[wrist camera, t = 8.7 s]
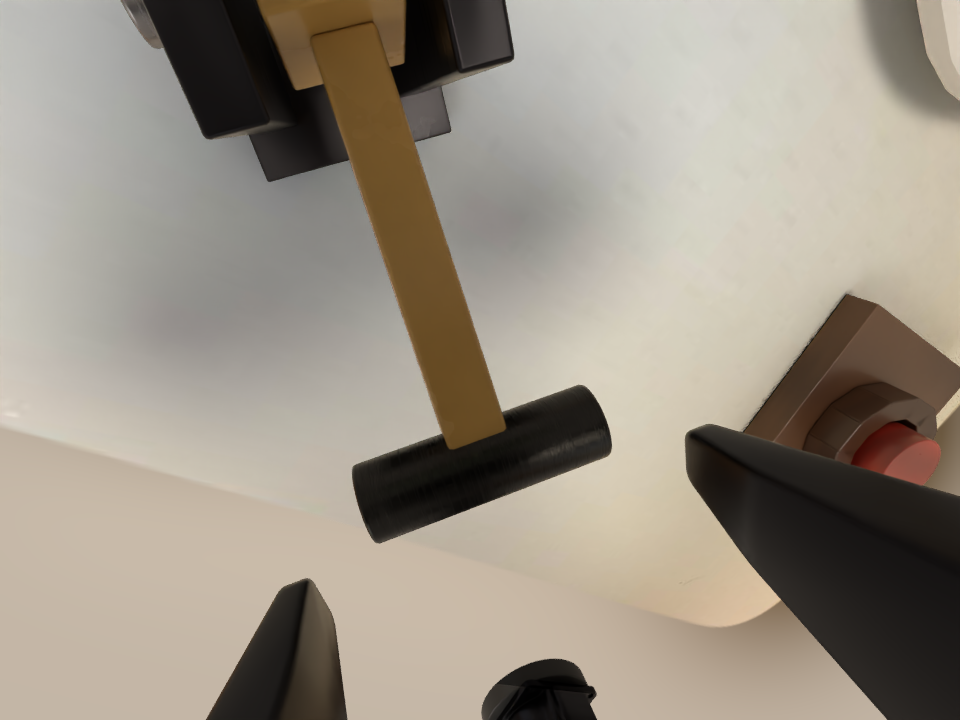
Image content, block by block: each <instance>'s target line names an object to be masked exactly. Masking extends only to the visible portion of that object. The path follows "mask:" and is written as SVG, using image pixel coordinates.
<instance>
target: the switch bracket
mask: <svg viewBox="0 0 960 720" xmlns="http://www.w3.org/2000/svg"><path fill="white" fill-rule="evenodd" d="M121 2H122V4H123V6H124V8H125V10H126V11H127V13H128V15H129V17H130V18H131V20H132V22H133V23H134V25H135V26H136V28H137V29H138V31H139V32H140V34H141V35H142V36H143V38H144V39H145V40H146V41H147V42H148V43H149V44H150V45H151V46H152V47H153V48H156V49H161V48H164V50H165V52H166V54H167V57H168V59H169V61H170V63H171V66H172V68H173V70H174V72H175V74H176V77H177V79H178V81H179V83H180V85H181V88H182V90H183V92H184V94H185V97H186V99H187V101H188V103H189V105H190V108H191V110H192V112H193V114H194V116H195V119H196V121H197V123H198V125H199V128H200V130H201V132H202V134H203V136H204V137H205V138H206V139H210V140H212V139H220V138H228V137H236V136H245V135H249V137H250V140H251V142H252V145H253V147H254V149H255V152H256V154H257V157H258V159H259V162H260V164H261V166H262V169H263V171H264V174H265V176H266V179H267V181H268V182H271V181H275V180H278V179H282V178H286V177H289V176H293V175H297V174H300V173H304V172H307V171H311V170H315V169H318V168H322V167H326V166H329V165H333V164H337V163H340V162H344V161H348V160H349V158H348V155H347V152H346V149H345V146H344V143H343V140H342V137H341V134H340V131H339V128H338V126H337V123H336V120H335V117H334V114H333V111H332V108H331V105H330V102H329V99H328V96H327V93H326V90H325V87H324V84H321V85H317V86H313V87H309V88H305V89H301V90H295V89H294V88H293V87H292V85H291V82H290V80H289V78H288V75H287V73H286V71H285V68H284V66H283V64H282V61H281V59H280V57H279V54H278V52H277V50H276V47H275V45H274V43H273V40H272V38H271V36H270V33H269V31H268V29H267V26H266V24H265V22H264V19H263V17H262V15H261V13H260V10H259V7H258V4H257V1H256V0H121ZM513 59H514V49H513V43H512V37H511V31H510V25H509V19H508V13H507V8H506V2H505V0H406V35H405V62H404V63H403V64H400V65H396V66H392V67H390V68H391V72H392V75H393V78H394V81H395V84H396V87H397V90H398V93H399V96H400V99H401V102H402V105H403V109H404V112H405V115H406V118H407V121H408V124H409V127H410V130H411V133H412V136H413V139H414V142H417V141H421V140H424V139H428V138H431V137H435V136H439V135H442V134H446V133H450V132H451V126H450V122H449V118H448V114H447V109H446V105H445V101H444V97H443V92H442V88H441V86H443V85H446V84H449V83H452V82H454V81H457V80H460V79H463V78H466V77H469V76H472V75H475V74H477V73H480V72H483V71H486V70H489V69H492V68H495V67H498V66H500V65H503V64H506V63H509V62H511V61H512V60H513Z"/></svg>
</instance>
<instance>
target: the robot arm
mask: <svg viewBox="0 0 960 720" xmlns="http://www.w3.org/2000/svg"><path fill="white" fill-rule="evenodd" d="M685 453H686V470H687V474H688V477H689V480H690V481H691V483H692V485H693V486H694V488H695V489H696V490H697V492H698V493H699V495H700V496H701V497H702V499H703V500H704V502H705V503H706V504H707V506H708V507H709V508H710V510H711V511H712V513H713V514H714V515H715V517H716V518H717V520H718V521H719V522H720V524H721V525H722V526H723V528H724V529H725V531H726V532H727V533H728V535H729V536H730V538H731V539H732V540H733V542H734V543H735V545H736V546H737V547H738V549H739V550H740V551H741V553H742V554H743V555H744V557H745V558H746V559H747V561H748V562H749V563H750V564H751V566H752V567H753V568H754V569H755V570H756V571H757V573H758V574H759V575H760V576H761V577H762V578H763V580H764V581H765V582H766V583H767V584H768V585H769V586H770V587H771V589H772V590H773V591H774V592H775V593H776V594H777V595H778V597H779V598H780V599H781V600H782V601H783V602H784V603H785V604H786V606H787V607H788V608H789V609H790V610H791V611H792V612H793V613H794V615H795V616H796V617H797V618H798V619H799V620H800V621H801V623H802V624H803V625H804V626H805V627H806V628H807V629H808V630H809V632H810V633H811V634H812V635H813V636H814V637H815V638H816V639H817V641H818V642H819V643H820V644H821V645H822V646H823V647H824V649H825V650H826V651H827V652H828V653H829V654H830V655H831V656H832V658H833V659H834V660H835V661H836V662H837V663H838V664H839V666H840V667H841V668H842V669H843V670H844V671H845V672H846V673H847V675H848V676H849V677H850V678H851V679H852V680H853V681H854V682H855V684H856V685H857V686H858V687H859V688H860V689H861V690H862V692H863V693H864V694H865V695H866V696H867V697H868V698H869V699H870V700H871V702H872V703H873V704H874V705H875V706H876V707H877V708H878V710H879V711H880V712H881V713H882V714H883V715H884V716H885V717H886V719H887V720H960V496H957V495H954V494H950V493H946V492H943V491H940V490H937V489H933V488H930V487H926V486H923V485H919V484H916V483H913V482H909V481H906V480H902V479H899V478H895V477H892V476H889V475H885V474H882V473H878V472H875V471H872V470H868V469H865V468H861V467H858V466H854V465H851V464H848V463H844V462H841V461H837V460H834V459H830V458H827V457H824V456H820V455H817V454H813V453H810V452H806V451H803V450H800V449H796V448H793V447H789V446H786V445H783V444H779V443H776V442H772V441H769V440H765V439H762V438H759V437H755V436H752V435H748V434H745V433H741V432H738V431H735V430H731V429H728V428H724V427H721V426H718V425H714V424H706V425H703V426H701V427H698V428H695V429H693V430H690V431H689V432H687V434H686V436H685ZM596 694H597V693H596V691H595V689H594V687H593V686H587V685H578V684H569V683H560V682H551V681H542V680H533V679H530V680H526V681H525V682H524V683H523V684H522V685H521V686H520V688H519V689H518V690H517V692H516V693H515V695H514V696H513V697H512V699H511V700H510V701H509V703H508V704H507V706H506V707H505V708H504V710H503V711H502V713H501V714H500V715H499V717H498V718H497V719H496V720H597V719H596V716H595V714H594V712H593V710H592V708H591V706H590V703H591V702H592V700H593V699H594V698H595V697H596ZM206 720H347V713H346V705H345V698H344V690H343V682H342V674H341V666H340V659H339V651H338V643H337V636H336V629H335V623H334V619H333V616H332V613H331V611H330V609H329V608H328V606H327V604H326V602H325V601H324V599H323V597H322V596H321V594H320V592H319V591H318V589H317V587H316V585H315V584H314V582H313V581H312V580H311V579H308V578H306V579H302V580H300V581H297V582H295V583H292V584H289V585H287V586H284V587H283V588H282V589H281V590H280V591H279V592H278V594H277V595H276V597H275V599H274V601H273V602H272V604H271V606H270V608H269V609H268V611H267V613H266V615H265V616H264V618H263V620H262V622H261V624H260V625H259V627H258V629H257V631H256V632H255V634H254V636H253V638H252V639H251V641H250V643H249V645H248V646H247V648H246V650H245V652H244V654H243V655H242V657H241V659H240V661H239V662H238V664H237V666H236V668H235V670H234V671H233V673H232V675H231V677H230V678H229V680H228V682H227V683H226V685H225V687H224V689H223V690H222V692H221V694H220V696H219V698H218V699H217V701H216V703H215V705H214V707H213V708H212V710H211V712H210V714H209V715H208V717H207V719H206Z"/></svg>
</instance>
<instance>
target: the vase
mask: <svg viewBox="0 0 960 720" xmlns="http://www.w3.org/2000/svg"><path fill="white" fill-rule="evenodd" d="M917 8H918V13H919V18H920V23H921V28H922V33H923V38H924V43H925V48H926V53H927V56H928V58H929V60H930V62H931V64H932V65H933V67H934V69H935V71H936V73H937V75H938V76H939V78H940V80H941V82H942V84H943V86H944V87H945V89H946V91H947V92H949V93H950V94H951V95H953V96H954V97H955V98H957V99H958V100H959V101H960V0H917Z"/></svg>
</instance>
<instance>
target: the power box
mask: <svg viewBox="0 0 960 720" xmlns="http://www.w3.org/2000/svg"><path fill="white" fill-rule="evenodd" d="M959 388H960V367H959V366H958V365H956V364H955V363H954V362H952V361H951V360H950V359H949V358H947V357H946V356H945V355H943V354H942V353H941V352H940V351H938V350H937V349H936V348H934V347H933V346H932V345H930V344H929V343H928V342H927V341H925V340H924V339H923V338H921V337H920V336H919V335H917V334H916V333H915V332H914V331H912V330H911V329H910V328H908V327H907V326H906V325H905V324H903V323H902V322H901V321H899V320H898V319H897V318H895V317H894V316H893V315H892V314H890V313H889V312H888V311H886V310H885V309H884V308H883V307H881V306H880V305H879V304H876V303H873V302H870V301H867V300H864V299H861V298H857V297H854V296H851V295H846V296H845V298H844V299H843V300H842V302H841V303H840V304H839V306H838V307H837V308H836V310H835V311H834V312H833V314H832V315H831V316H830V318H829V319H828V320H827V322H826V323H825V324H824V326H823V327H822V328H821V330H820V331H819V332H818V334H817V335H816V336H815V338H814V339H813V340H812V342H811V343H810V344H809V346H808V347H807V348H806V350H805V351H804V352H803V354H802V355H801V356H800V358H799V359H798V360H797V362H796V363H795V364H794V366H793V367H792V369H791V370H790V371H789V373H788V374H787V375H786V377H785V378H784V379H783V381H782V382H781V383H780V385H779V386H778V387H777V389H776V390H775V391H774V393H773V394H772V395H771V397H770V398H769V399H768V401H767V402H766V403H765V405H764V406H763V407H762V409H761V410H760V411H759V413H758V414H757V415H756V417H755V418H754V419H753V421H752V422H751V423H750V425H749V426H748V427H747V429H746V430H745V431H744V433H745V434H748V435H752V436H755V437H759V438H762V439H765V440H769V441H772V442H776V443H779V444H783V445H786V446H789V447H793V448H796V449H800V450H803V451H806V452H810V453H813V454H817V455H820V456H824V457H827V458H830V459H834V460H837V461H841V462H844V463H848V464H851V461H852V459H853V456H854V453H855V452H856V451H857V449H858V448H859V447H860V446H861V445H862V443H863V442H864V441H865V440H866V438H867V437H868V436H869V435H870V434H872V433H873V432H875V431H876V430H878V429H880V428H881V427H883V426H884V425H886V424H887V423H889V422H898V423H901V424H903V425H905V426H907V427H909V428H911V429H912V430H914V431H916V432H918V433H920V434H922V435H924V436H926V437H928V438H930V439H932V440H933V439H934V437H935V435H936V432H937V423H936V415H937V414H938V413H939V412H940V410H941V409H942V408H943V407H944V406H945V405H946V403H947V402H948V401H949V400H950V399H951V398H952V396H953V395H954V394H955V393H956V392H957V391H958V389H959Z"/></svg>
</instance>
